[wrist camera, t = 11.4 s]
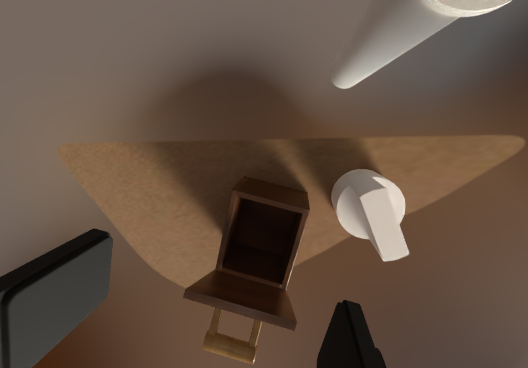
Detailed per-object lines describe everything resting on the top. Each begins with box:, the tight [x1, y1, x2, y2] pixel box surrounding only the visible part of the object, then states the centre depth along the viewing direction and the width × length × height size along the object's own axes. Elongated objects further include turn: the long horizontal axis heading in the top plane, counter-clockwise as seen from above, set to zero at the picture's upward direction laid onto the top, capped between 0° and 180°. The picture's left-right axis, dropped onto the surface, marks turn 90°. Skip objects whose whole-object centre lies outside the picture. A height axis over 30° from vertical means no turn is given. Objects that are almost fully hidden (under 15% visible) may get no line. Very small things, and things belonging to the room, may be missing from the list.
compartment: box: [216, 176, 310, 290], centre depth 39 cm, size 13×11×9 cm
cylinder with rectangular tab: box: [331, 169, 409, 261], centre depth 35 cm, size 9×9×12 cm
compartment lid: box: [183, 269, 297, 364], centre depth 29 cm, size 13×11×5 cm
